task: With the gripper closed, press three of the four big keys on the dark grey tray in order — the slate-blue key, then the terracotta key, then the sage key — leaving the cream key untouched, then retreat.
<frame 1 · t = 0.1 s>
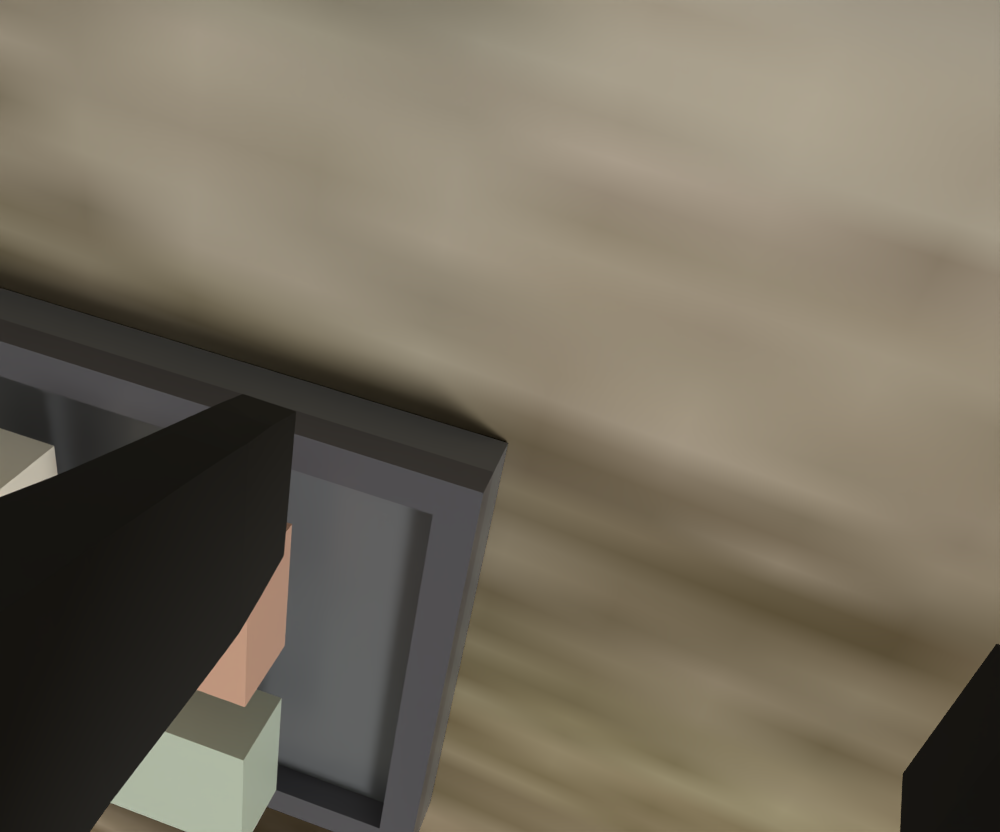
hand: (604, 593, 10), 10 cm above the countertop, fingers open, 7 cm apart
dark grey tray: (163, 548, 26), on the countertop
key terracotta: (188, 589, 21), point 4 cm above the countertop, slide at 0.0 cm
key sage: (191, 750, 25), point 4 cm above the countertop, slide at 0.0 cm
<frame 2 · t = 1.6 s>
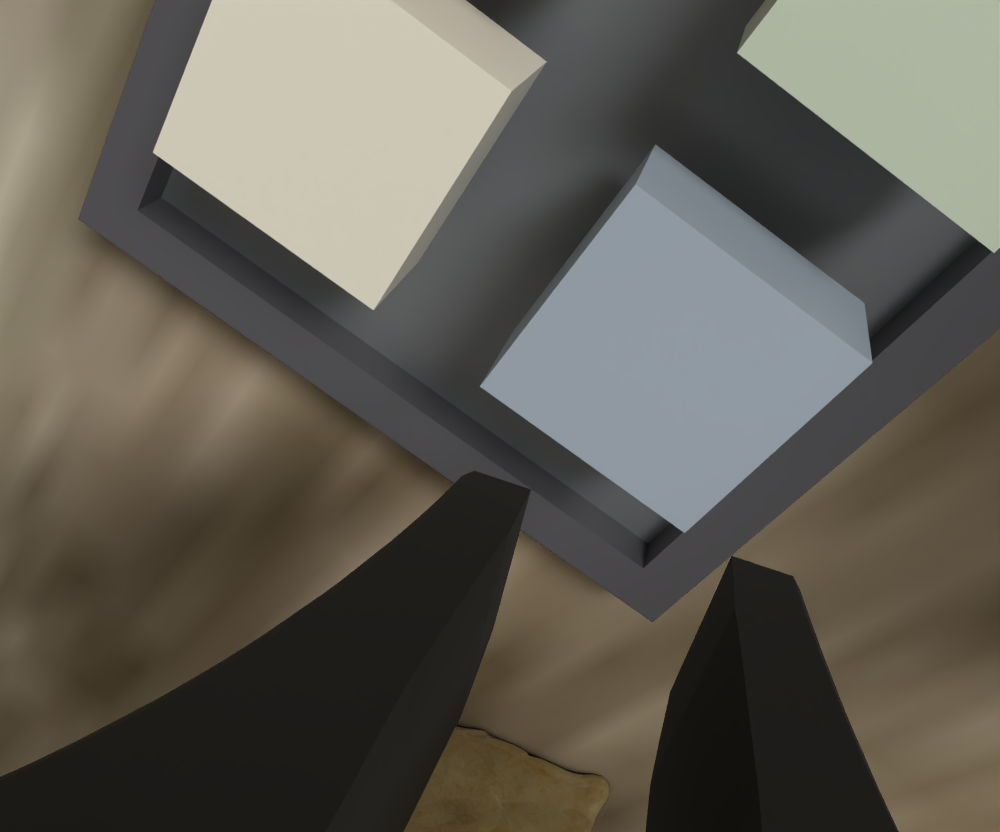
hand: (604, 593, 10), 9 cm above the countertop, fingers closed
rock: (405, 743, 27), on the countertop
key cream: (348, 107, 14), point 4 cm above the countertop, slide at 0.0 cm
dark grey tray: (665, 16, 15), on the countertop
key slate: (670, 345, 14), point 4 cm above the countertop, slide at 0.0 cm
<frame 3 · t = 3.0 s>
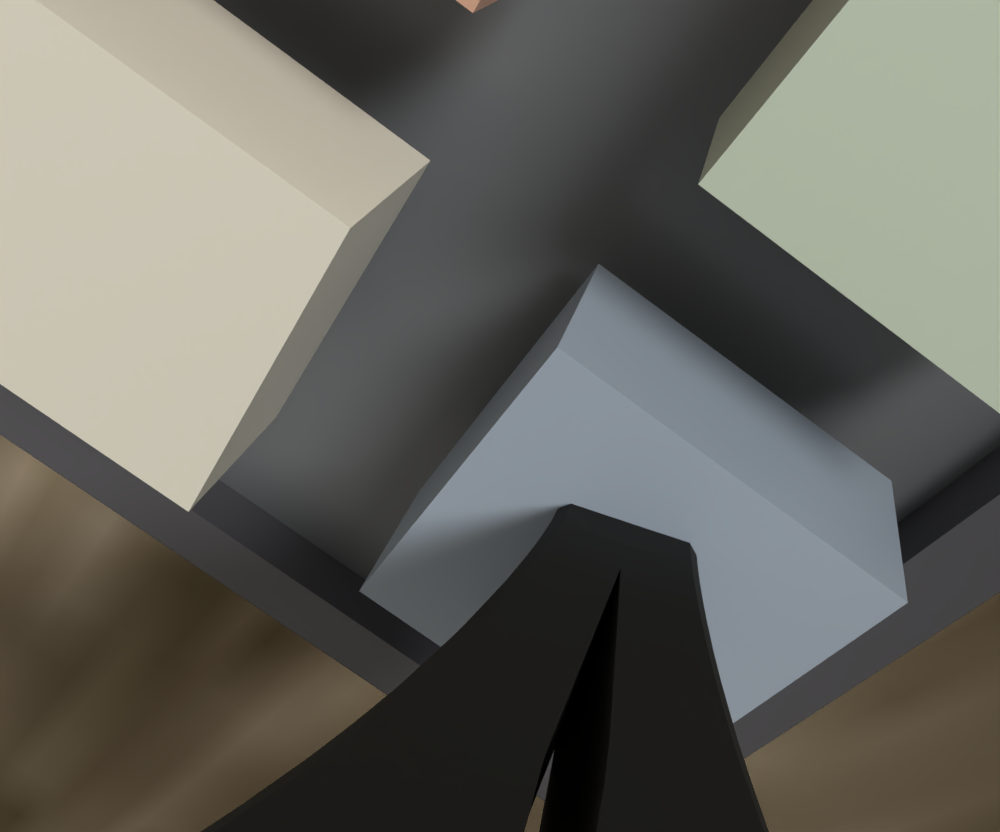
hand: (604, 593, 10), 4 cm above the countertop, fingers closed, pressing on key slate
key cream: (142, 225, 9), point 4 cm above the countertop, slide at 0.0 cm
dark grey tray: (613, 82, 11), on the countertop
key slate: (622, 536, 10), point 3 cm above the countertop, slide at 0.4 cm, touching gripper
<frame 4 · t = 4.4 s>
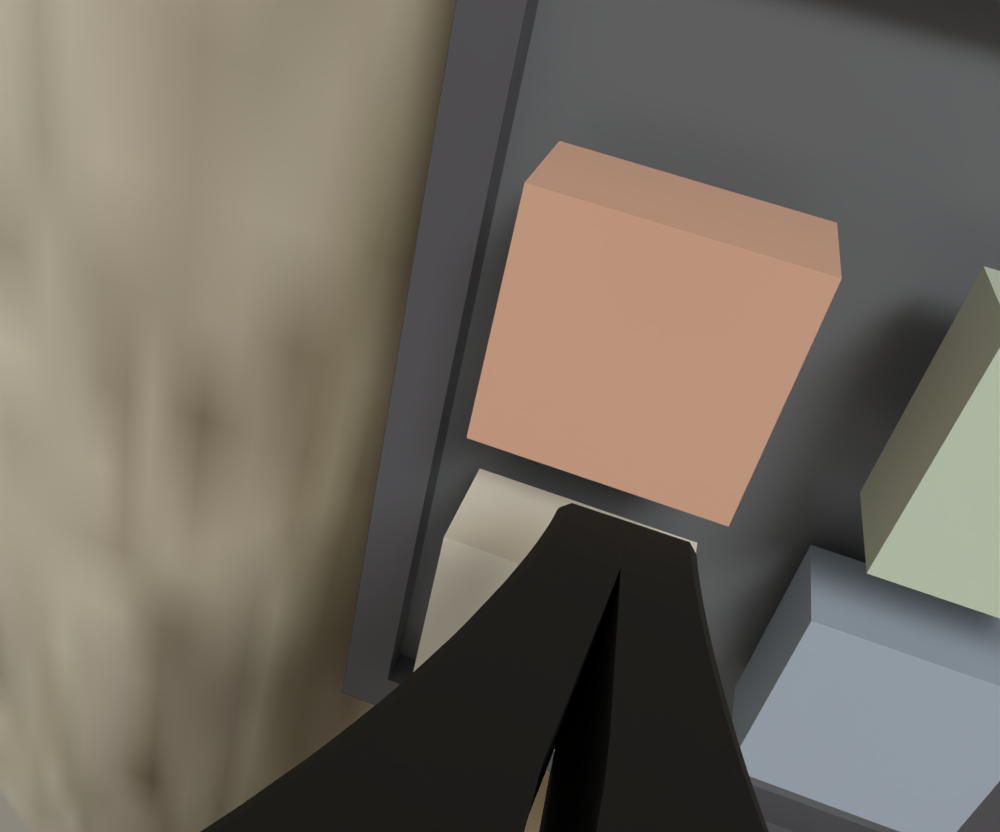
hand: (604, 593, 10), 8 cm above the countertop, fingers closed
key cream: (547, 622, 17), point 4 cm above the countertop, slide at 0.0 cm
dark grey tray: (778, 436, 18), on the countertop
key slate: (877, 696, 17), point 3 cm above the countertop, slide at 1.0 cm
key terracotta: (644, 334, 13), point 4 cm above the countertop, slide at 0.0 cm
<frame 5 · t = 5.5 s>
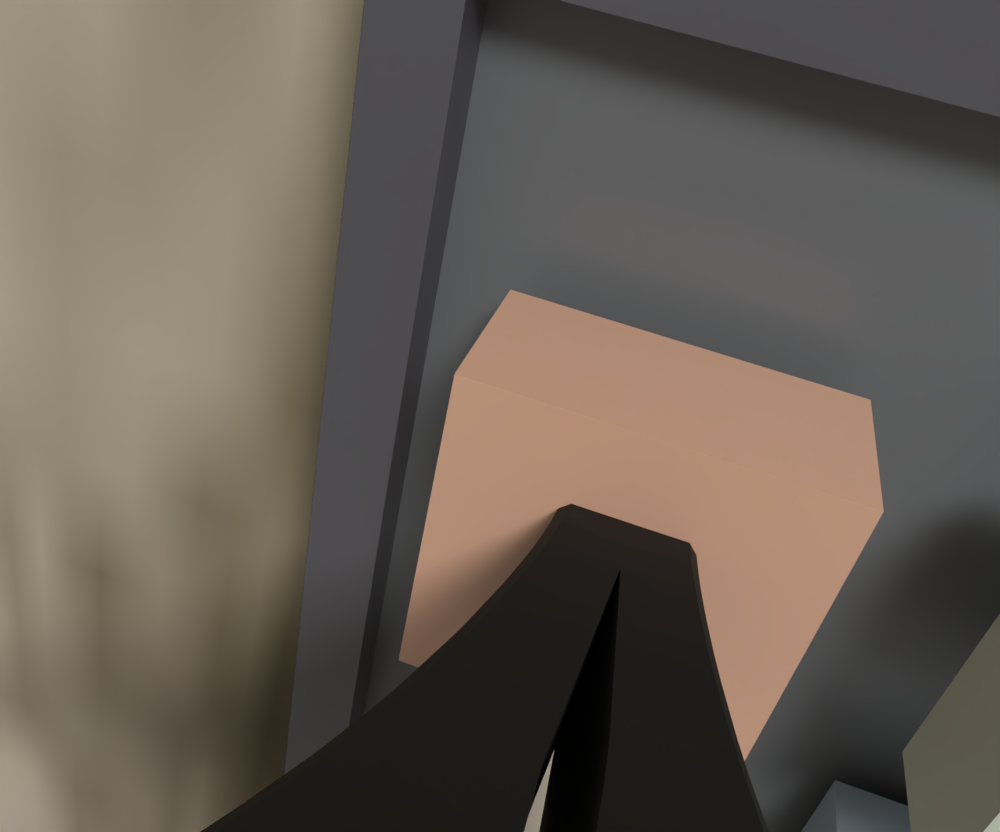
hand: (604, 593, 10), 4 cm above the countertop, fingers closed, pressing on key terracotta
dark grey tray: (792, 630, 14), on the countertop
key terracotta: (622, 536, 10), point 3 cm above the countertop, slide at 0.7 cm, touching gripper
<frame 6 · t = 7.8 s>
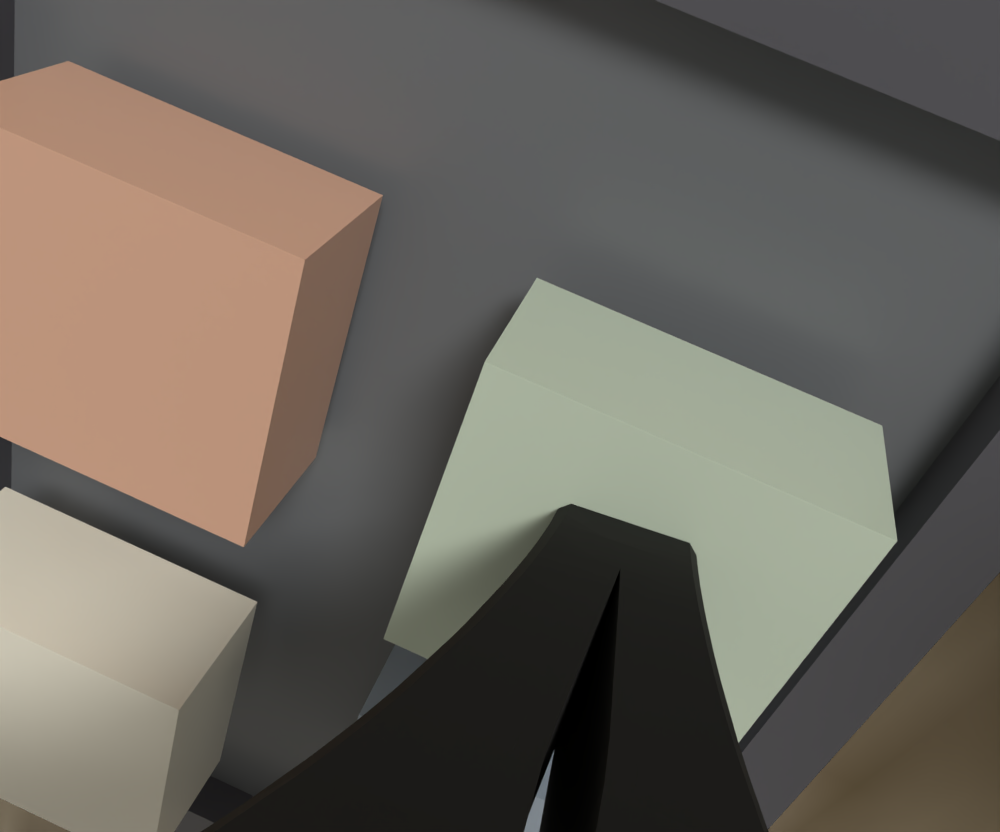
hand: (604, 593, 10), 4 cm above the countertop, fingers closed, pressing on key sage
key cream: (78, 681, 14), point 4 cm above the countertop, slide at 0.0 cm
dark grey tray: (404, 476, 15), on the countertop
key slate: (476, 797, 14), point 3 cm above the countertop, slide at 1.0 cm
key terracotta: (157, 308, 11), point 3 cm above the countertop, slide at 1.0 cm
key sage: (622, 536, 10), point 3 cm above the countertop, slide at 0.6 cm, touching gripper
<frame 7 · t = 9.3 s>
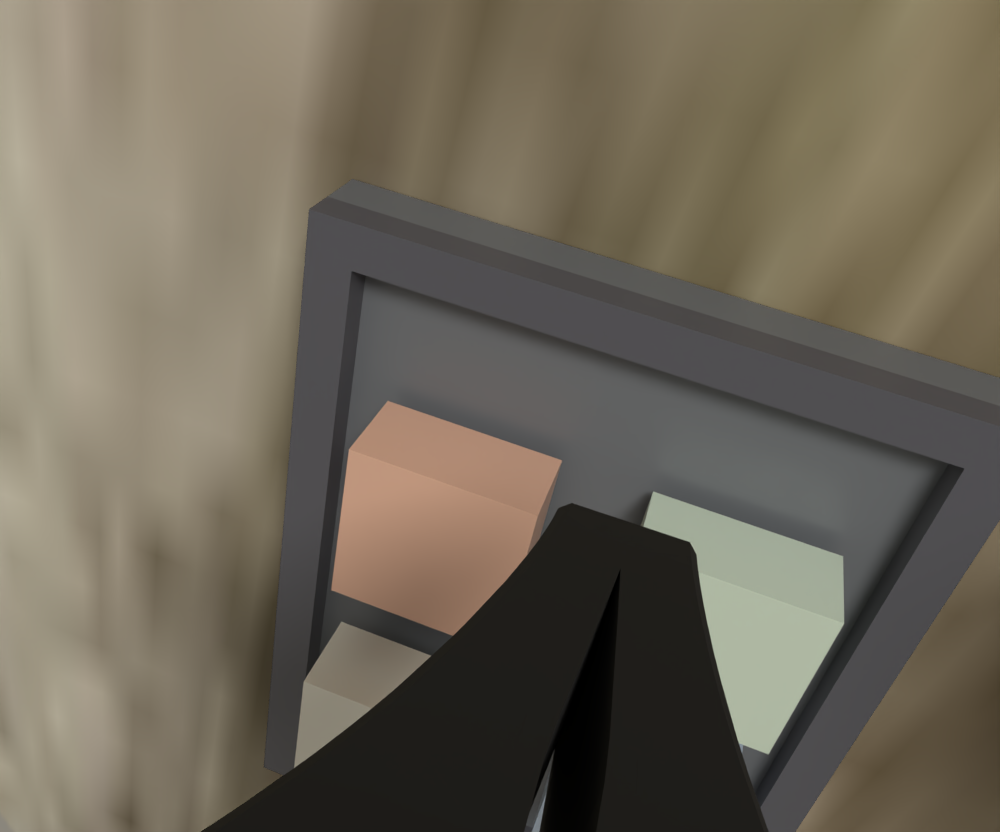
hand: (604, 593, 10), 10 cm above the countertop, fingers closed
key cream: (391, 733, 23), point 4 cm above the countertop, slide at 0.0 cm
dark grey tray: (569, 593, 24), on the countertop
key slate: (633, 790, 23), point 3 cm above the countertop, slide at 1.0 cm
key terracotta: (443, 527, 20), point 3 cm above the countertop, slide at 1.0 cm
key sage: (710, 623, 19), point 3 cm above the countertop, slide at 1.0 cm
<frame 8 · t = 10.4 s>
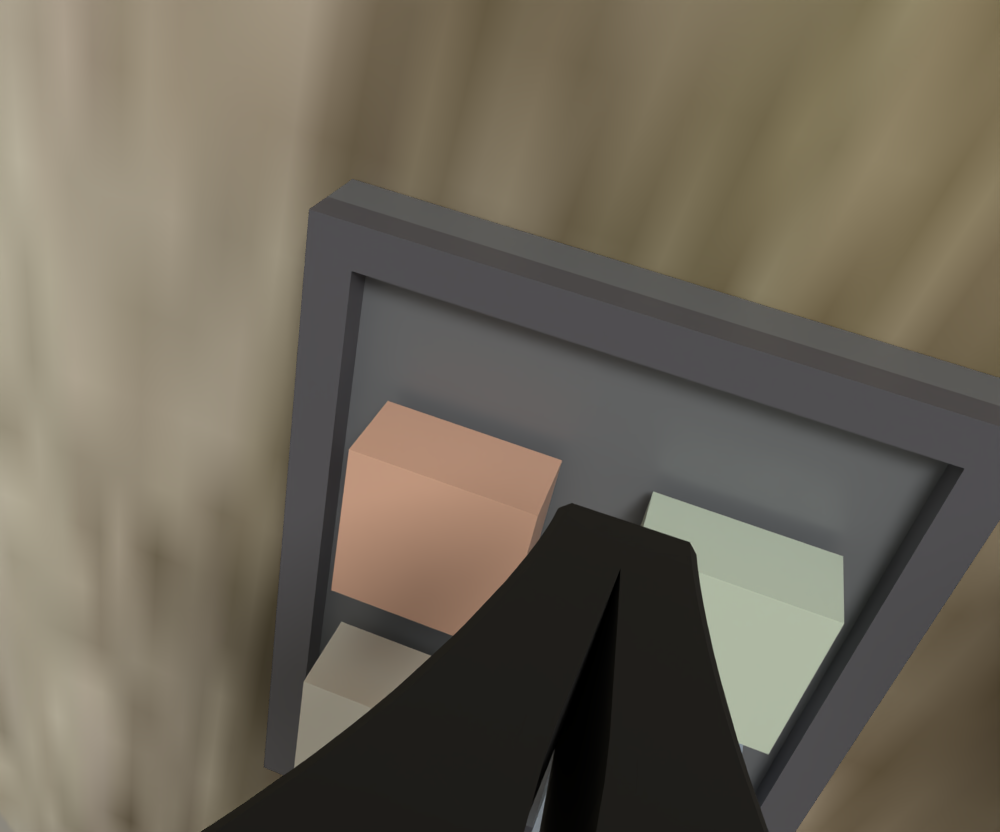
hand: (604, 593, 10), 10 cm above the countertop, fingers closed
key cream: (391, 733, 23), point 4 cm above the countertop, slide at 0.0 cm
dark grey tray: (569, 593, 24), on the countertop
key slate: (633, 790, 23), point 3 cm above the countertop, slide at 1.0 cm
key terracotta: (443, 527, 20), point 3 cm above the countertop, slide at 1.0 cm
key sage: (710, 623, 19), point 3 cm above the countertop, slide at 1.0 cm
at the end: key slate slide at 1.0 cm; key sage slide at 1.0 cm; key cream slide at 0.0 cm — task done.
